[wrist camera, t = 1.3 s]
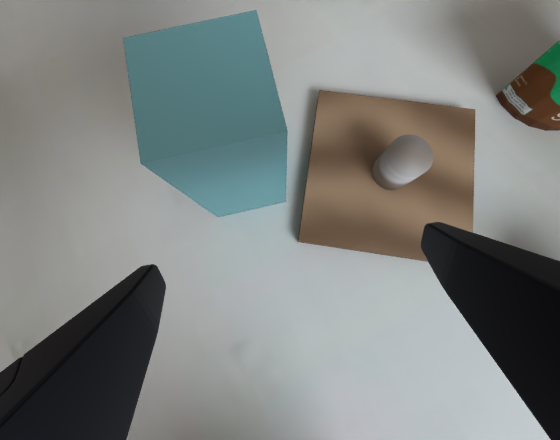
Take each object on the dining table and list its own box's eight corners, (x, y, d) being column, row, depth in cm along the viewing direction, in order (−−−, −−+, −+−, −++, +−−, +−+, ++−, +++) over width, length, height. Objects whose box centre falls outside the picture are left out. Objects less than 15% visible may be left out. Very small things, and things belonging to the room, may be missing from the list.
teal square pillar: (285, 201, 22) (287, 130, 10) (217, 217, 22) (140, 163, 10) (270, 138, 23) (256, 10, 12) (205, 153, 23) (123, 38, 11)
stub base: (463, 266, 21) (510, 267, 17) (297, 241, 22) (301, 236, 17) (467, 116, 23) (510, 81, 19) (318, 97, 24) (325, 59, 20)
